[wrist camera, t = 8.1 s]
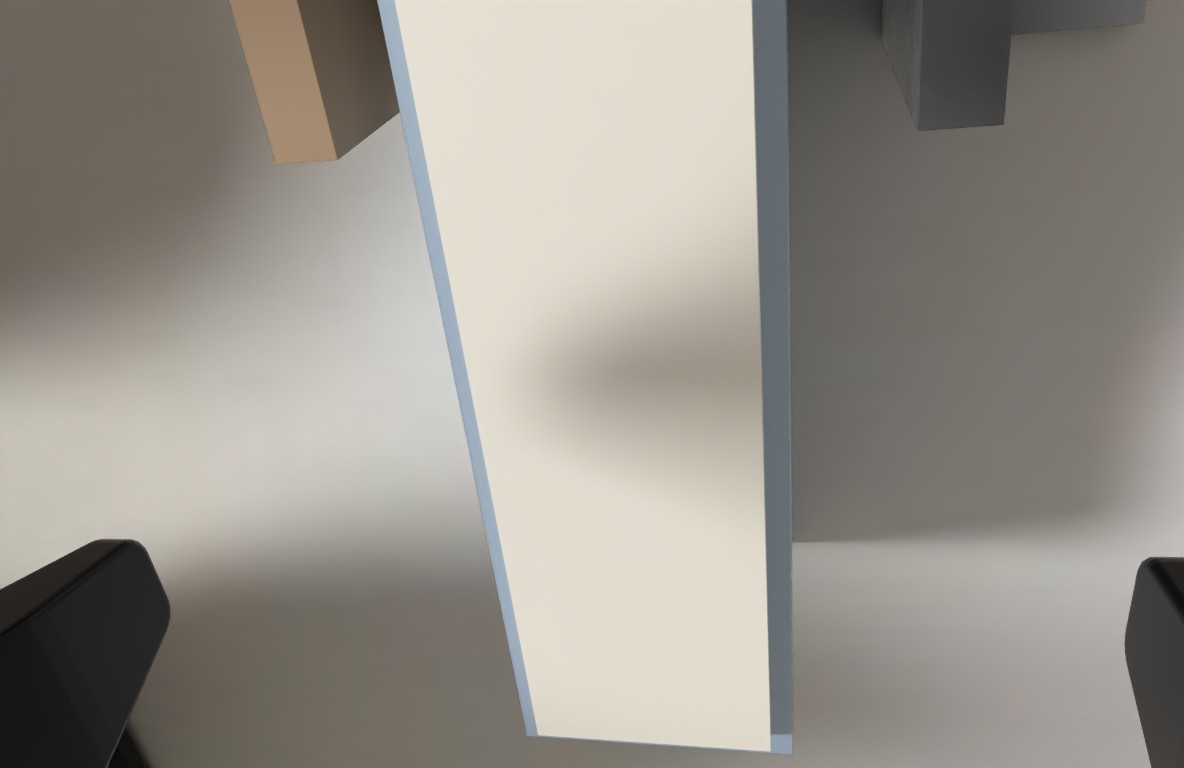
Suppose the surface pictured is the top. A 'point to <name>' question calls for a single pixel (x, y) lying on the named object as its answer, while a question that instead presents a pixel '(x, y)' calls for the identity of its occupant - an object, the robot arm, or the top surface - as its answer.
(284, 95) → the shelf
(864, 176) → the top surface
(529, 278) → the book
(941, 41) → the bookend
